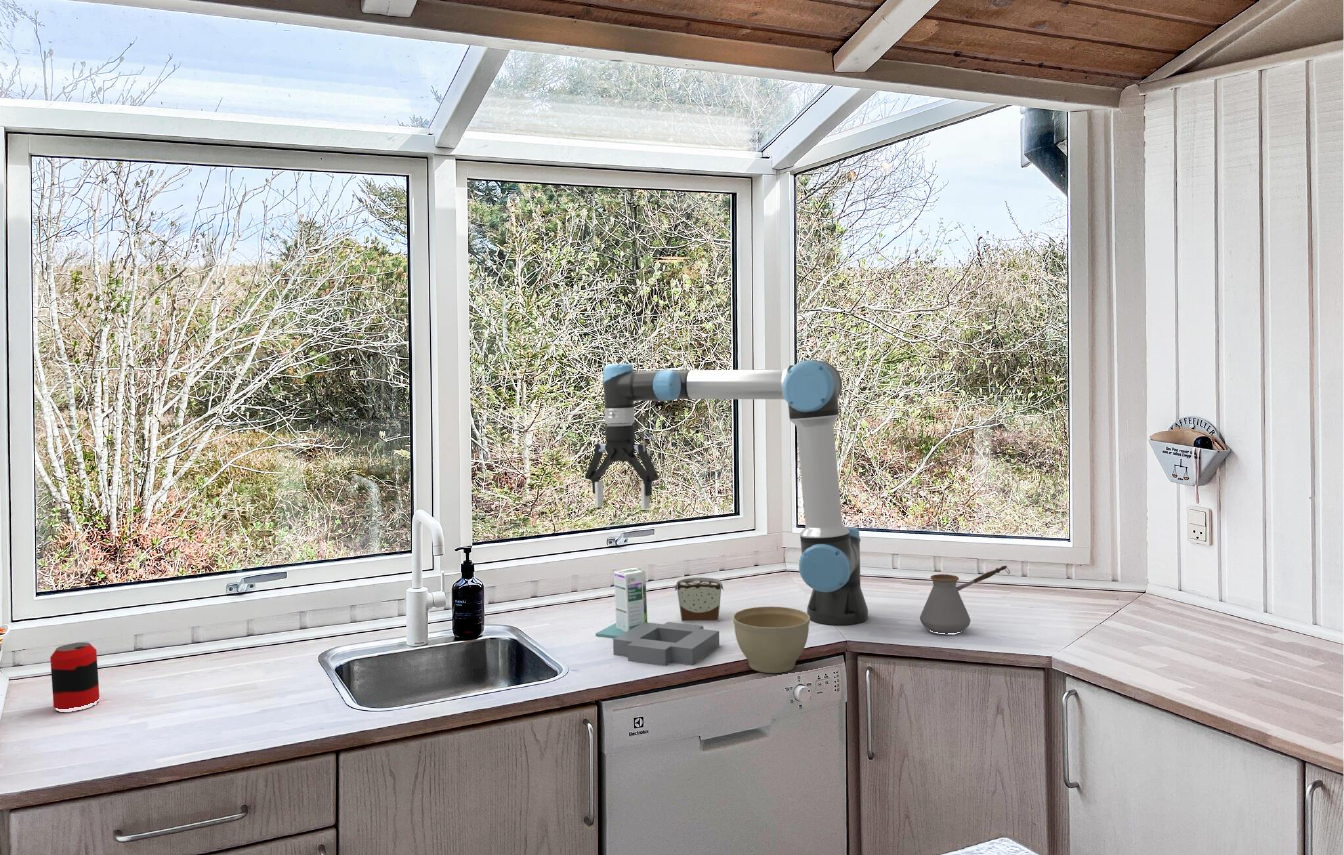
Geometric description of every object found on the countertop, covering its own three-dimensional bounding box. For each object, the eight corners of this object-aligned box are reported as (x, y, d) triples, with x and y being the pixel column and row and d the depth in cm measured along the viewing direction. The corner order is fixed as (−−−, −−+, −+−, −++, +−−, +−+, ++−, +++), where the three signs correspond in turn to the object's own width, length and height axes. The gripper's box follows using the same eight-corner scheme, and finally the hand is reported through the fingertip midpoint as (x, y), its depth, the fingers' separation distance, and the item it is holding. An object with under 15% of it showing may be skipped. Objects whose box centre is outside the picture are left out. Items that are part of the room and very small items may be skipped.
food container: (725, 615, 230) (724, 576, 229) (724, 621, 224) (723, 582, 223) (677, 615, 231) (676, 577, 231) (675, 621, 225) (674, 582, 224)
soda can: (71, 715, 171) (67, 654, 171) (44, 710, 174) (40, 650, 173) (108, 701, 178) (104, 642, 178) (82, 697, 181) (78, 639, 181)
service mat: (668, 627, 220) (668, 624, 220) (643, 641, 209) (643, 639, 209) (622, 621, 226) (622, 619, 226) (595, 635, 214) (595, 633, 214)
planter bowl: (731, 679, 181) (730, 626, 181) (736, 654, 197) (735, 605, 197) (811, 680, 179) (810, 627, 178) (810, 655, 195) (809, 606, 194)
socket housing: (723, 642, 206) (723, 627, 206) (687, 668, 188) (686, 652, 188) (649, 633, 215) (648, 619, 214) (607, 657, 197) (607, 642, 197)
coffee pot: (929, 638, 204) (929, 574, 204) (913, 625, 216) (912, 564, 215) (1020, 634, 206) (1019, 570, 205) (999, 621, 217) (998, 560, 216)
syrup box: (628, 633, 213) (626, 573, 212) (615, 628, 218) (613, 569, 217) (648, 629, 216) (646, 570, 216) (635, 624, 221) (633, 566, 220)
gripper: (570, 425, 229) (573, 507, 230) (656, 425, 218) (658, 511, 219) (585, 423, 235) (588, 503, 237) (670, 423, 224) (672, 507, 225)
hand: (622, 507), depth 228 cm, fingers open, 13 cm apart
